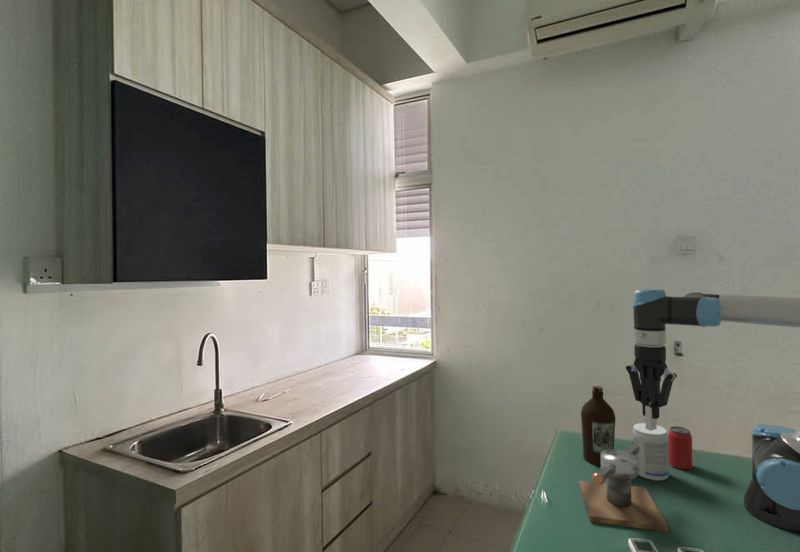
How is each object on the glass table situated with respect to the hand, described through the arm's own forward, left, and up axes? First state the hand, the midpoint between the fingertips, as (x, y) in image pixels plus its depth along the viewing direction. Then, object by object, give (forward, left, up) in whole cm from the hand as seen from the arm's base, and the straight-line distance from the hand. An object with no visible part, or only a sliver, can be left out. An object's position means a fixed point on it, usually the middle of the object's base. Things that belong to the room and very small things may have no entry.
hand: (651, 428), depth 115 cm
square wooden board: (+9, +3, -21) cm, 23 cm away
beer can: (-16, -26, -21) cm, 37 cm away
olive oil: (+9, -25, -21) cm, 34 cm away
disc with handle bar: (+10, +4, -11) cm, 15 cm away
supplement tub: (-5, -18, -21) cm, 28 cm away
